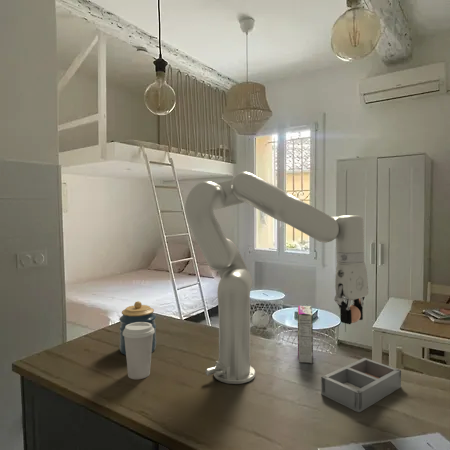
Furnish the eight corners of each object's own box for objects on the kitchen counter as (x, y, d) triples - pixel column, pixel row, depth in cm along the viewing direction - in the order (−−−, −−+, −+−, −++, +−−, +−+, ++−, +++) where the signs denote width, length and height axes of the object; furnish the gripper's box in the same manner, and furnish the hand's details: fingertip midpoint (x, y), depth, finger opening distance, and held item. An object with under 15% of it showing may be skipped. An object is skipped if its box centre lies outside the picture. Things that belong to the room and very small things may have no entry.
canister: (163, 347, 129) (163, 300, 128) (137, 359, 118) (137, 307, 117) (138, 340, 136) (138, 295, 135) (111, 351, 125) (111, 302, 124)
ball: (354, 326, 97) (354, 308, 97) (339, 322, 101) (338, 305, 101) (364, 322, 100) (364, 305, 100) (348, 318, 104) (348, 302, 104)
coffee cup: (161, 371, 109) (160, 323, 109) (141, 384, 100) (141, 332, 100) (136, 365, 113) (136, 319, 113) (115, 378, 104) (115, 328, 104)
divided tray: (358, 412, 86) (359, 393, 86) (321, 394, 95) (321, 376, 95) (400, 387, 99) (401, 370, 99) (364, 373, 108) (364, 357, 108)
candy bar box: (297, 350, 126) (297, 305, 126) (311, 351, 125) (311, 305, 125) (297, 362, 115) (297, 313, 115) (313, 364, 114) (313, 314, 114)
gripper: (344, 262, 92) (346, 330, 93) (378, 256, 103) (379, 317, 103) (321, 260, 98) (322, 324, 99) (355, 254, 109) (356, 312, 109)
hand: (351, 320), depth 101 cm, fingers closed on ball, 4 cm apart
